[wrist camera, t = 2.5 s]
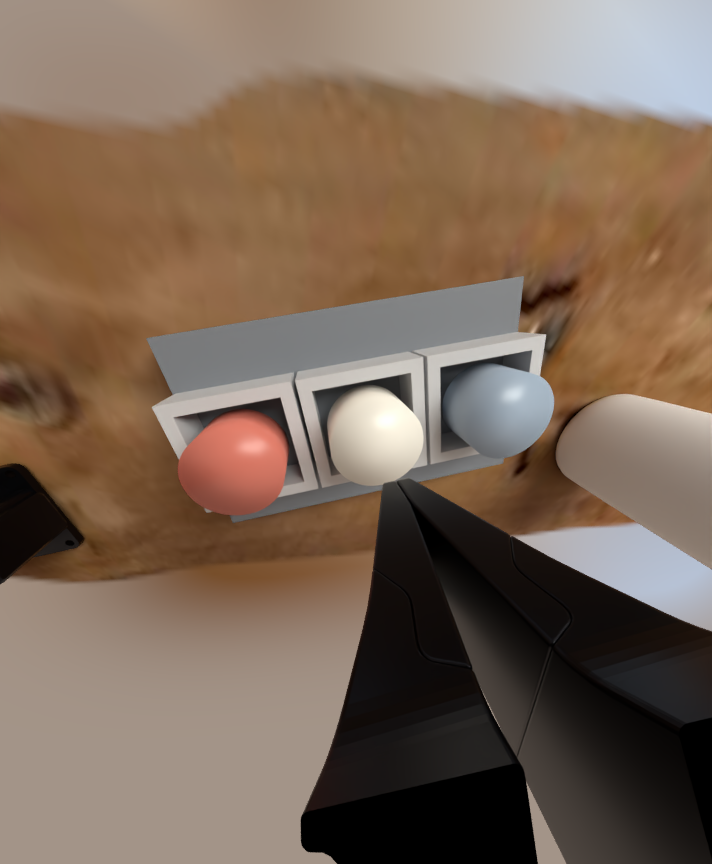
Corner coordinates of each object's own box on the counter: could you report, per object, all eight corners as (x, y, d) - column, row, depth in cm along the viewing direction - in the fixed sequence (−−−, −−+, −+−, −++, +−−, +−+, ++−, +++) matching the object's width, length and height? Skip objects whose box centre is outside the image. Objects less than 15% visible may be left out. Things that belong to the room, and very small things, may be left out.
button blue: (442, 442, 14) (466, 466, 12) (441, 370, 13) (469, 382, 10) (509, 428, 15) (545, 449, 12) (518, 355, 13) (561, 364, 11)
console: (242, 497, 18) (222, 549, 14) (173, 334, 14) (115, 342, 10) (481, 446, 20) (524, 480, 16) (492, 281, 15) (558, 269, 11)
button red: (220, 489, 13) (202, 524, 11) (188, 418, 12) (158, 442, 9) (297, 472, 14) (295, 504, 11) (276, 401, 12) (268, 421, 10)
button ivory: (335, 465, 14) (339, 494, 12) (319, 393, 12) (321, 411, 10) (407, 449, 14) (425, 475, 12) (401, 377, 12) (421, 391, 10)
